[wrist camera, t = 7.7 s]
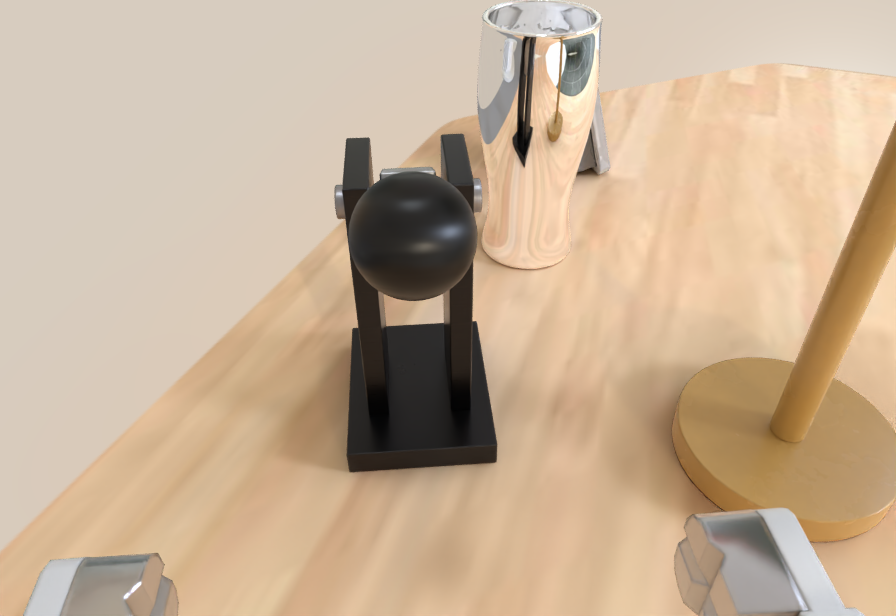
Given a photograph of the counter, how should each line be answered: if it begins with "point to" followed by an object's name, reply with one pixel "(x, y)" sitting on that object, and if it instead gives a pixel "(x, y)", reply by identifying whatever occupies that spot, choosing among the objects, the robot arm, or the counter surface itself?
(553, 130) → the beer glass
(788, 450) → the desk lamp
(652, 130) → the counter surface
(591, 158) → the electrical switch
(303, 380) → the counter surface
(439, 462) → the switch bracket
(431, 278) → the switch lever
